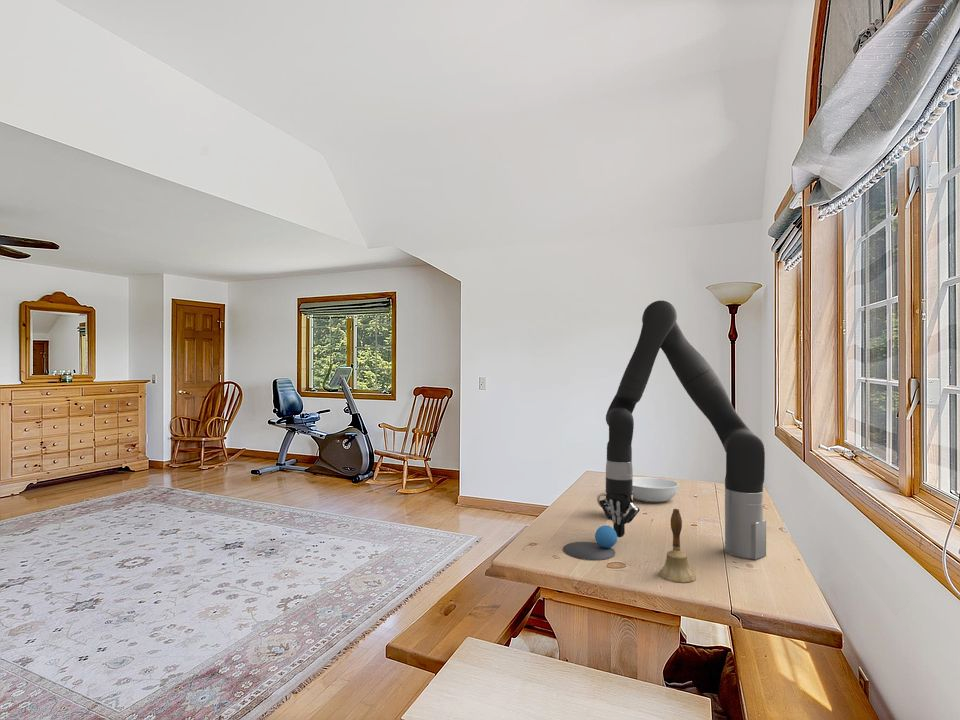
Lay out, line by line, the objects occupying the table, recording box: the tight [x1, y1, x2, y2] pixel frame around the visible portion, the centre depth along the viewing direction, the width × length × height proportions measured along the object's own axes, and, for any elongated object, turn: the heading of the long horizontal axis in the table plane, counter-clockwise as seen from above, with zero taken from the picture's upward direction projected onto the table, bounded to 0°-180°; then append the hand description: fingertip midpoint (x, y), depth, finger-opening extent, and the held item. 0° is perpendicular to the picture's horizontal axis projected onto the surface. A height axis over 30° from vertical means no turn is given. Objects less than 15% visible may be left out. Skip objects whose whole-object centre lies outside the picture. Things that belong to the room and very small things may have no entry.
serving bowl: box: [633, 476, 680, 503], centre depth 198 cm, size 21×21×7 cm
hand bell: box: [658, 508, 696, 584], centre depth 124 cm, size 8×8×16 cm
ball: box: [594, 524, 618, 548], centre depth 144 cm, size 6×6×6 cm
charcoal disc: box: [562, 541, 616, 561], centre depth 141 cm, size 14×14×1 cm
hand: (618, 536), depth 149 cm, fingers closed
